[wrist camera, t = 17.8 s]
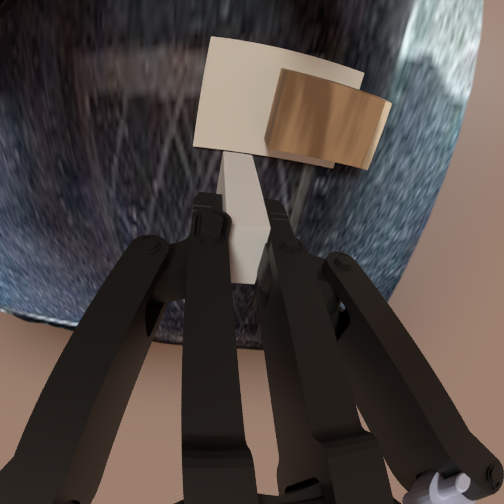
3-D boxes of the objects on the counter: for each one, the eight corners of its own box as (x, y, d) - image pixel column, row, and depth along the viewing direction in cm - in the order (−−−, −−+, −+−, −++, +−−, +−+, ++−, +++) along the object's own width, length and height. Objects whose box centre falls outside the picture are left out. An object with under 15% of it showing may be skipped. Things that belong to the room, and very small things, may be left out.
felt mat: (193, 144, 38) (193, 146, 38) (211, 36, 29) (211, 36, 29) (331, 166, 42) (333, 168, 42) (362, 72, 33) (364, 73, 33)
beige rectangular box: (268, 149, 35) (367, 170, 38) (287, 70, 29) (392, 103, 32) (264, 138, 38) (356, 158, 41) (281, 67, 32) (378, 96, 35)
